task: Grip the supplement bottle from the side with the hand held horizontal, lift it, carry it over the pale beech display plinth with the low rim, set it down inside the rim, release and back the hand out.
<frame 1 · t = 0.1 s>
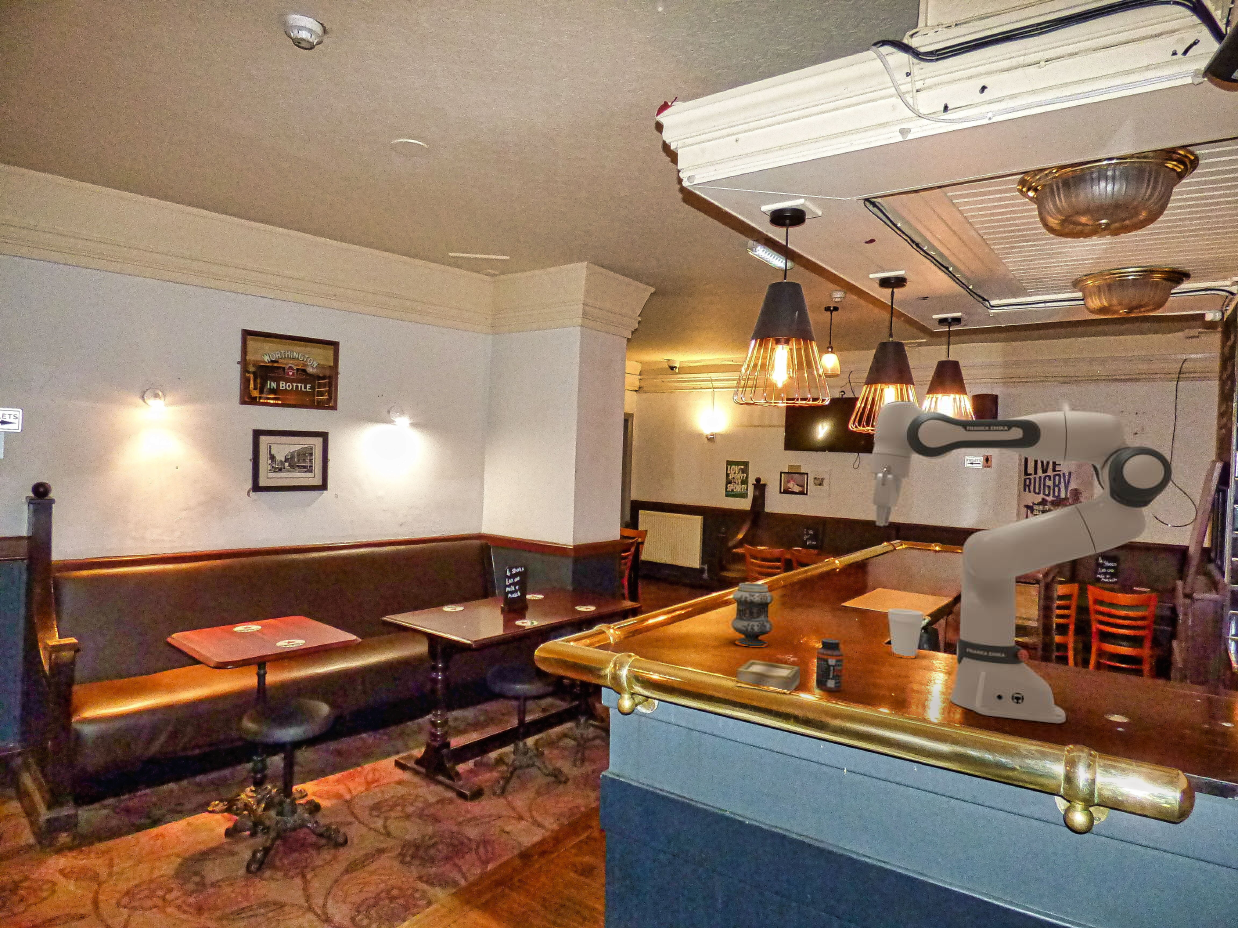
hand: (881, 525, 175), 39 cm above the table, tool pointing down, fingers open, 8 cm apart
foam cup: (904, 656, 213), on the table
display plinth: (768, 684, 172), on the table
apothecary jar: (751, 645, 219), on the table
supplement bottle: (828, 689, 171), on the table
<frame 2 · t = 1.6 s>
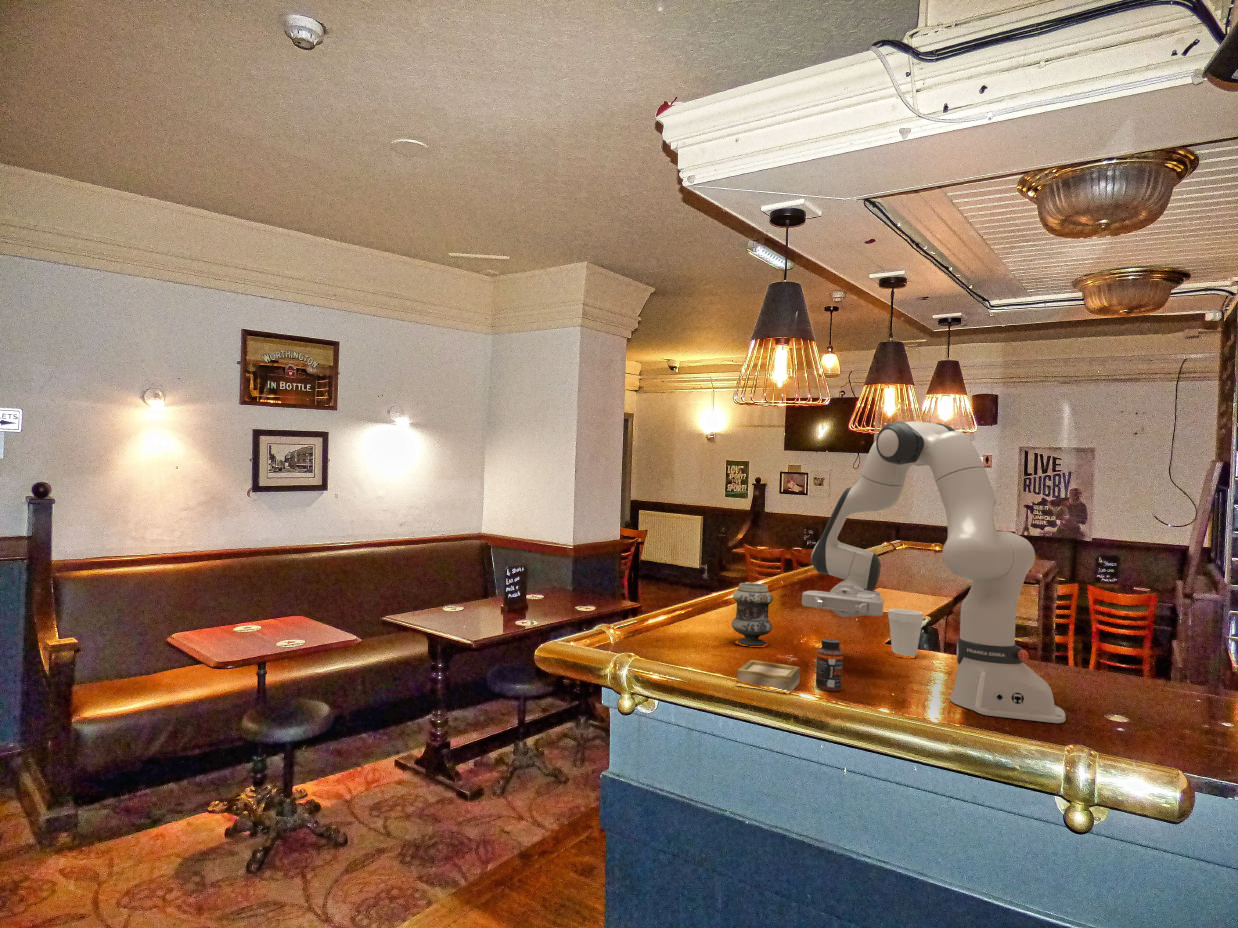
hand: (838, 606, 183), 18 cm above the table, tool horizontal, fingers open, 8 cm apart
nothing on the table moved.
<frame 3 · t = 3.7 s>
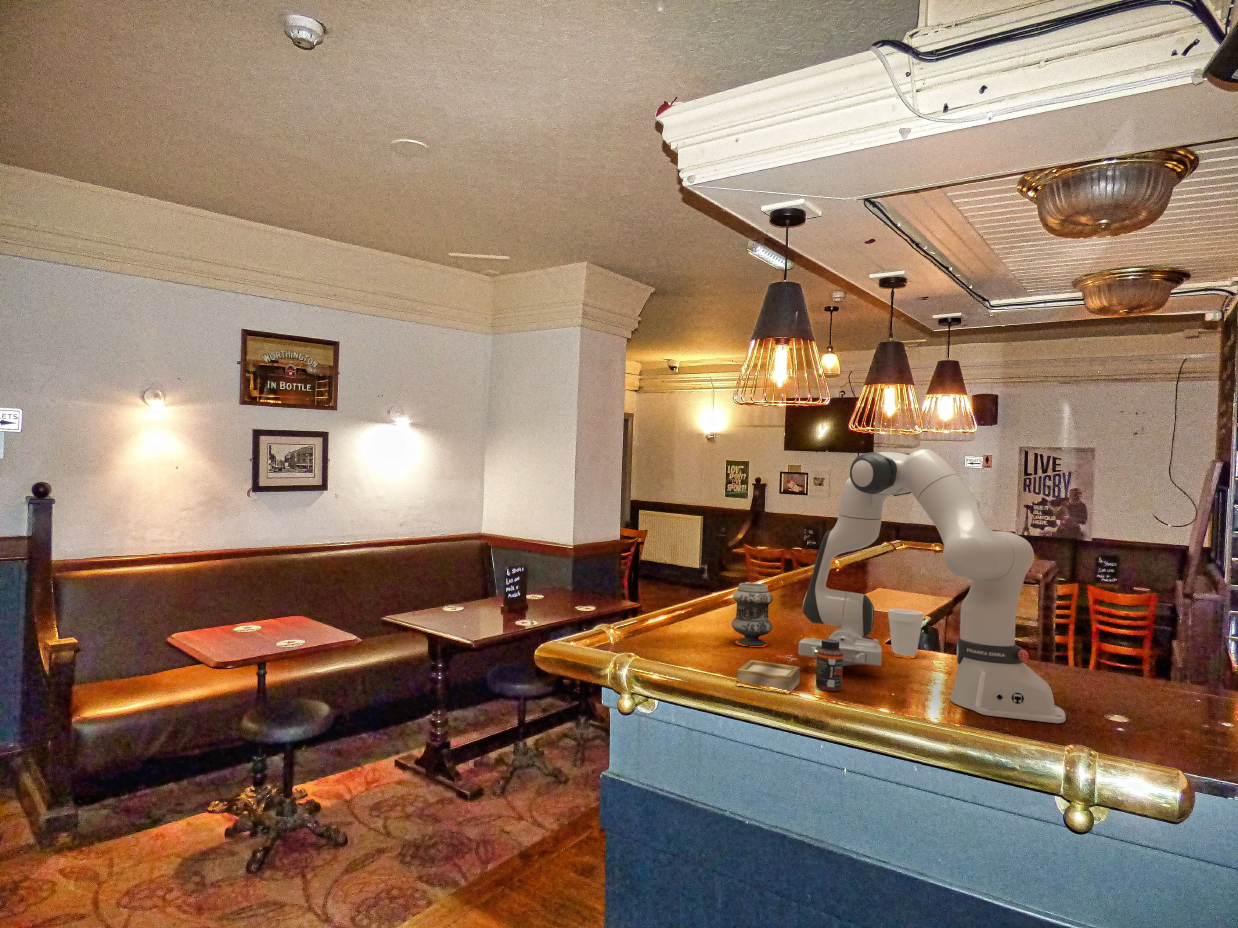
hand: (835, 656, 179), 6 cm above the table, tool horizontal, fingers open, 8 cm apart
nothing on the table moved.
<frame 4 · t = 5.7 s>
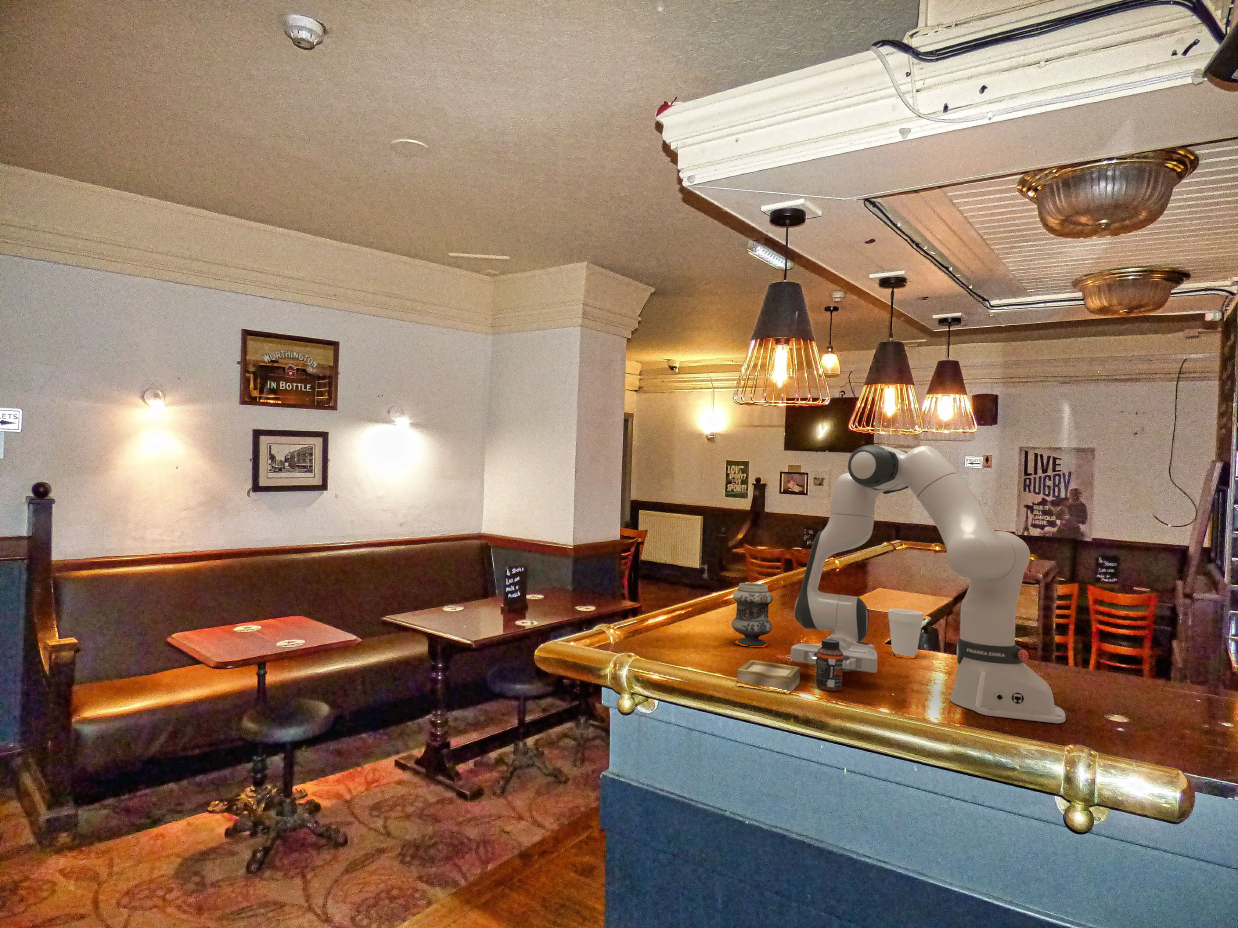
hand: (829, 663, 171), 6 cm above the table, tool horizontal, fingers closed on supplement bottle, 6 cm apart
supplement bottle: (828, 689, 171), on the table, touching gripper
everything else where it was.
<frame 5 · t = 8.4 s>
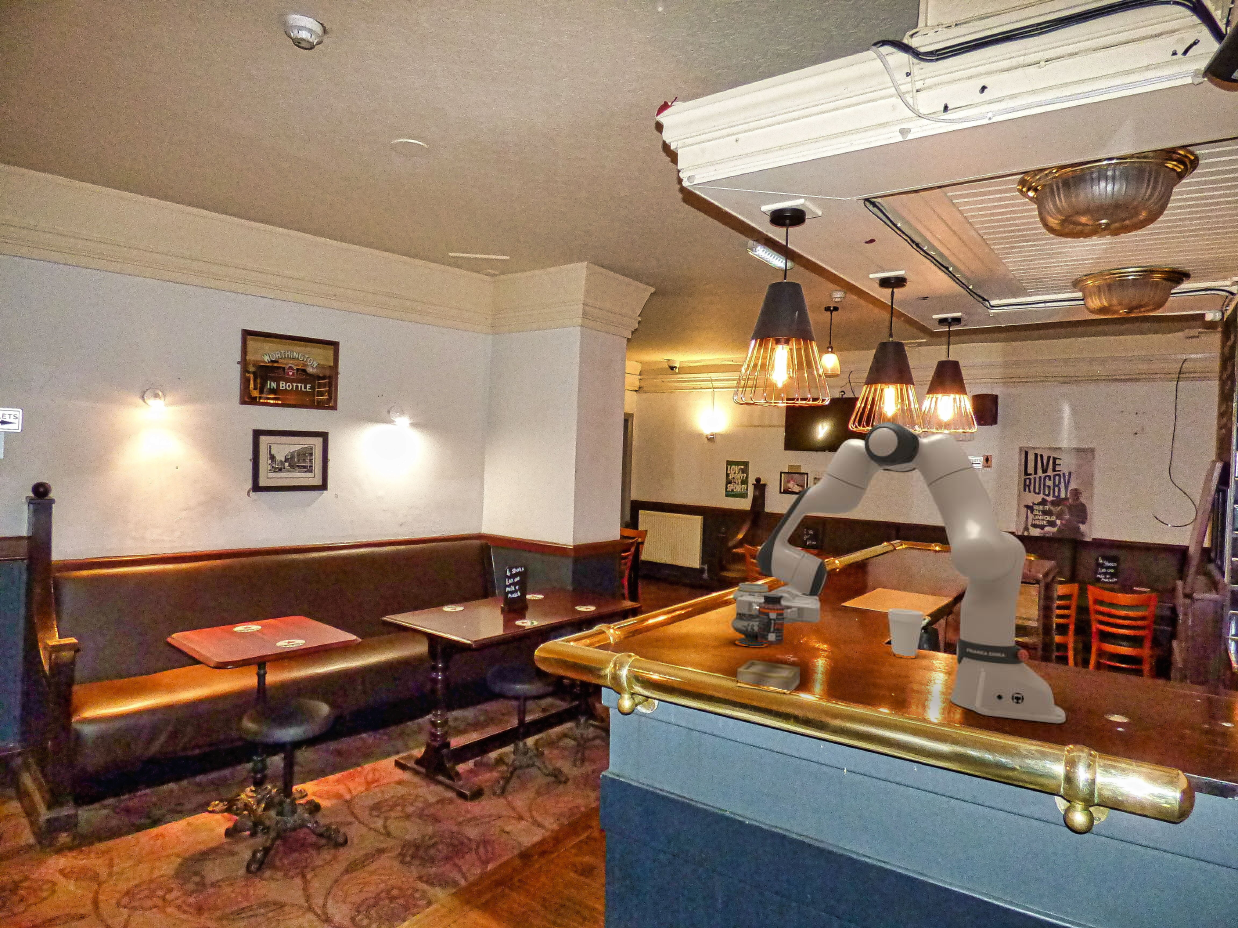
hand: (770, 612, 172), 17 cm above the table, tool horizontal, fingers closed on supplement bottle, 6 cm apart
supplement bottle: (770, 643, 173), point 10 cm above the table, touching gripper
everything else where it was.
when the fingers open (11 cm above the table, at t = 10.3 s): supplement bottle stays where it is, resting on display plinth.
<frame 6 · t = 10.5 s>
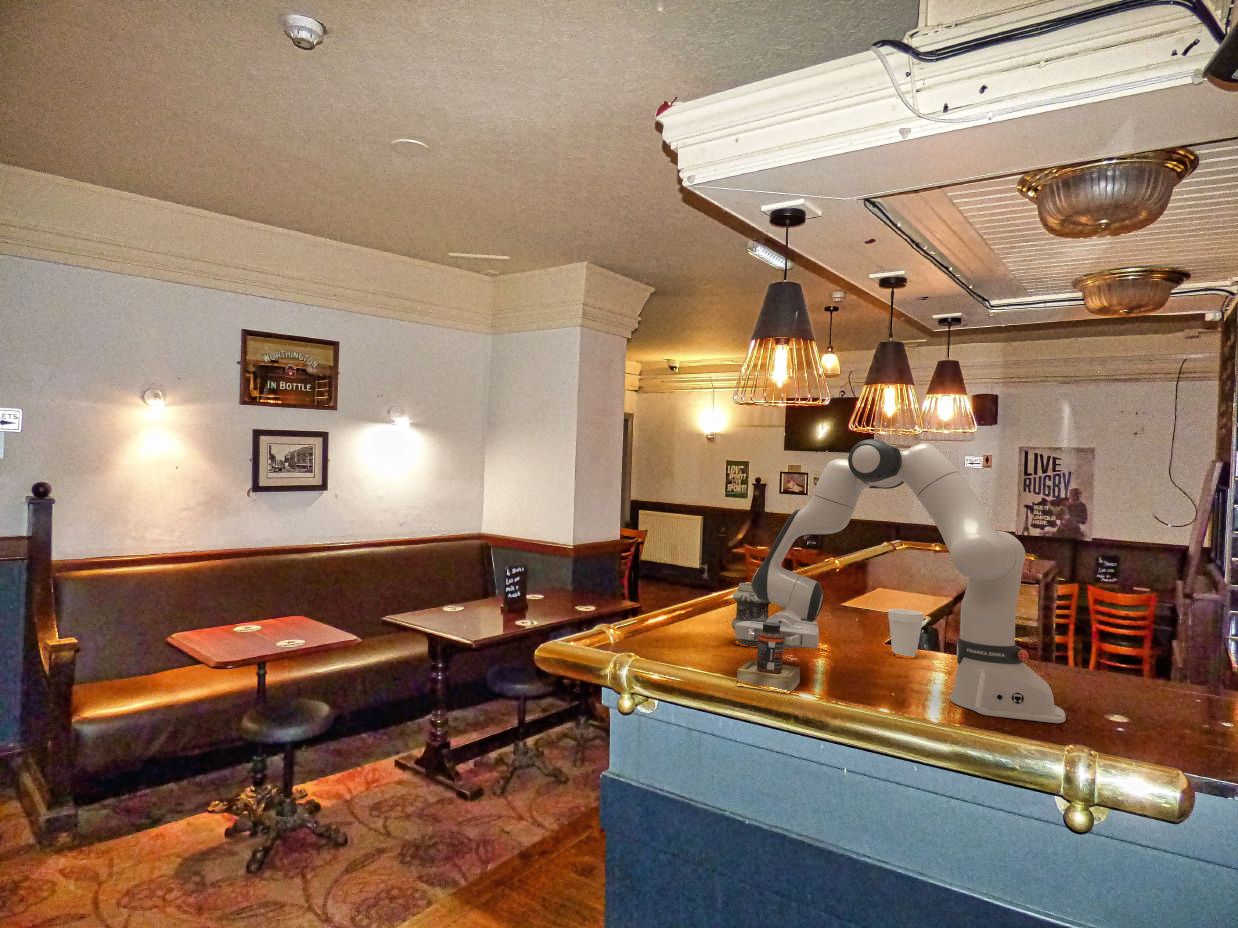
hand: (769, 639, 172), 11 cm above the table, tool horizontal, fingers open, 8 cm apart
supplement bottle: (769, 672, 173), point 3 cm above the table, touching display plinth
everything else where it was.
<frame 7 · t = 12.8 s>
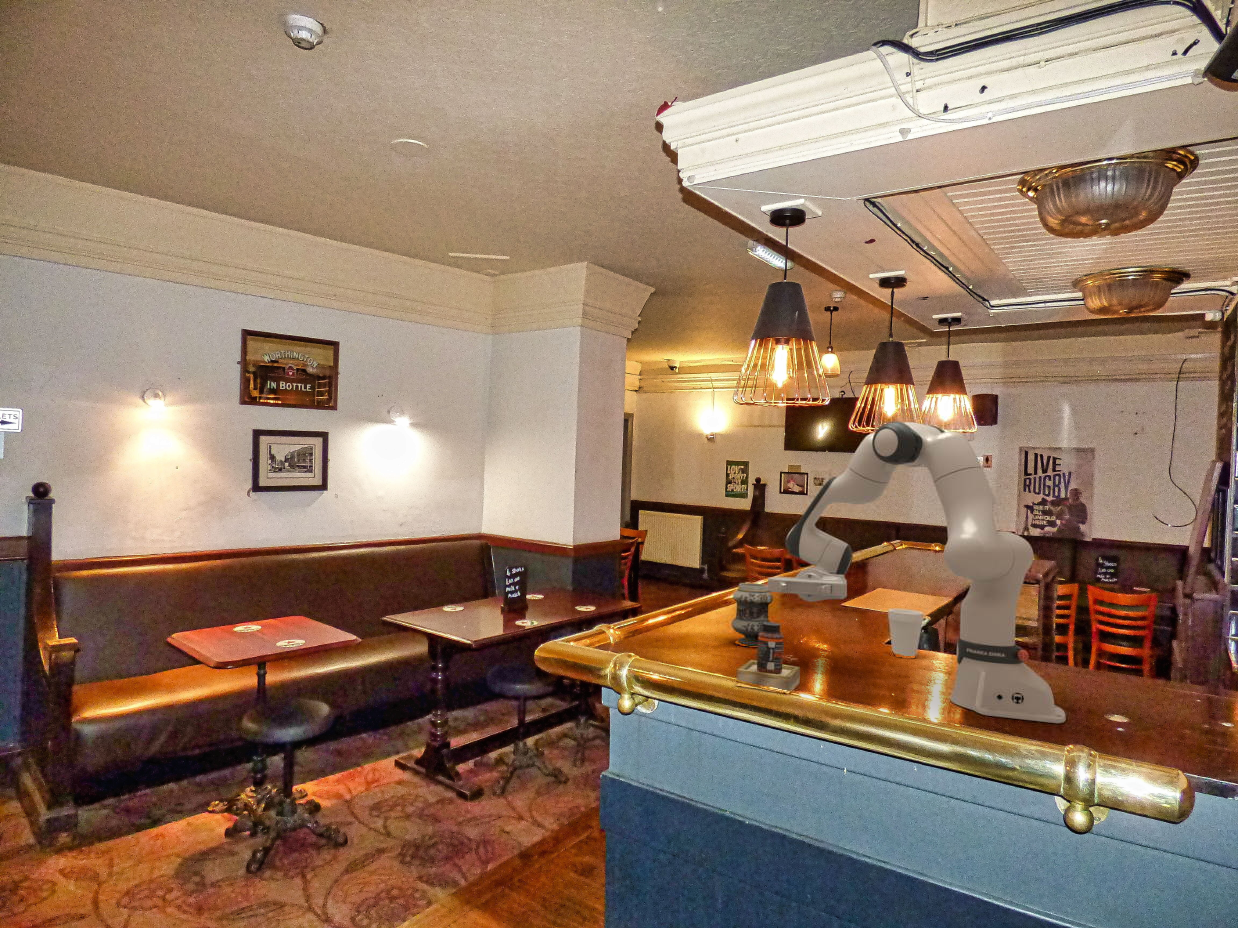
hand: (801, 588, 185), 21 cm above the table, tool horizontal, fingers open, 8 cm apart
nothing on the table moved.
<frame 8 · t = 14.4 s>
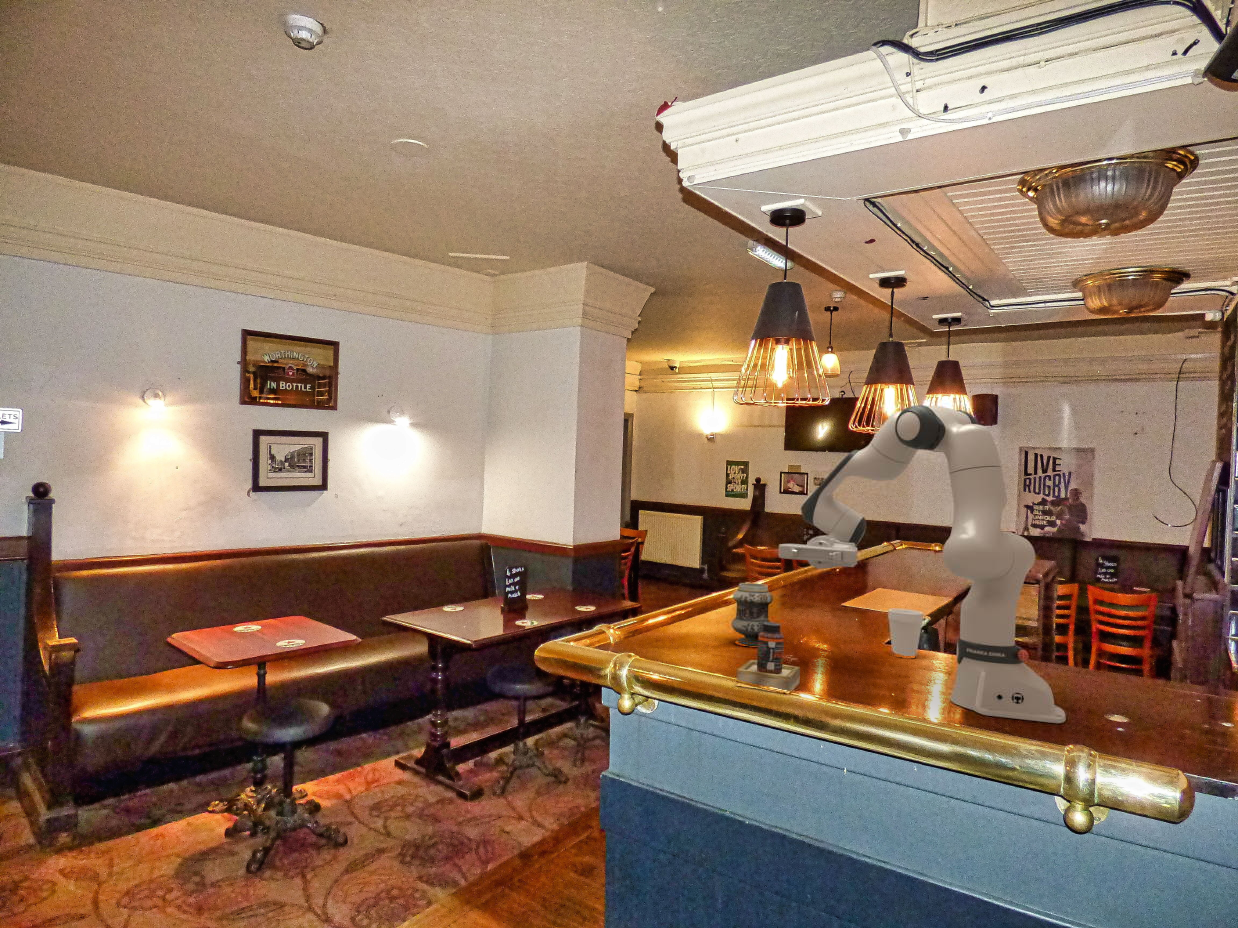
hand: (812, 555, 187), 30 cm above the table, tool horizontal, fingers open, 8 cm apart
nothing on the table moved.
at the end: supplement bottle inside the target area on the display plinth (0.1 cm from its centre), point 2.8 cm above the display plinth's base; supplement bottle tilted 0°; the gripper is holding nothing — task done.
